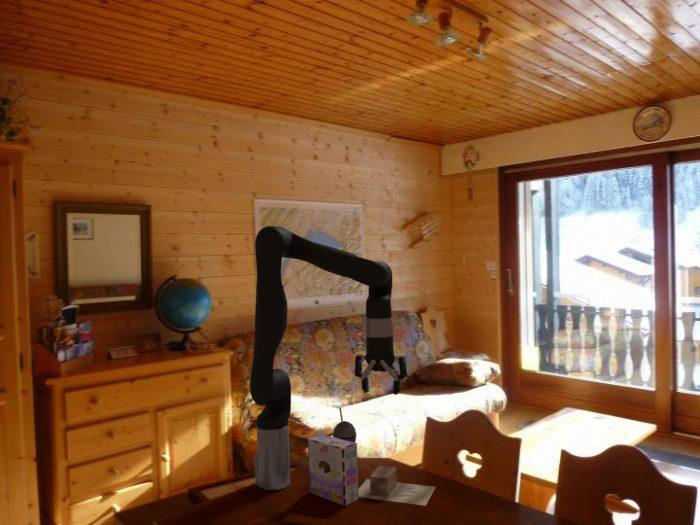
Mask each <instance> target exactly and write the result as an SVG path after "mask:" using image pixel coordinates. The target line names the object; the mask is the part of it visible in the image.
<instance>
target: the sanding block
mask: <svg viewBox="0 0 700 525" xmlns="http://www.w3.org/2000/svg"><path fill="white" fill-rule="evenodd" d="M369 479H370V494H371V495H375V496H383V497H389V496H390V494H391V493H392V491H393V490H394V489H395V487H396V486H397V481H398V480H397V467H396V466H385V465H378V467H376V469H375V470H374V471H373V472H372V473H371V474H370V476H369Z"/></svg>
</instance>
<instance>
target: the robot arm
mask: <svg viewBox="0 0 700 525" xmlns="http://www.w3.org/2000/svg"><path fill="white" fill-rule="evenodd" d="M254 251H255V252H254V253H255V266H256V267H255V268H256V285H255V286H256V288H255V290H256V291H255V309H254V310H255V311H254V339H253V340H254V341H253V342H254V343H253V355H252V364H251V370H250V377H249V392H250V396H251V399H252V401H253V402H254V403H255V404H256V405H258V406H264V408H263V409H262V410H261V412H260V413H259V414H258V416H257V417H256V443H257V444H256V445H257V448H256V450H257V451H255V453H254V469H255V470H254V477H255V482H254V483H255V487H259V488H260V489H262V490H266V491H277V490H281V489H285V488H287V487H288V486H290V485H291V466H290V465H291V464H290V463H291V462H290V437H289V436H290V435H289V430H290V429H289V418H290V416H291V412H292V411H291V410H292V409H291V408H292V384H291V379H290V377H289V375H288V373H287V372H286V371H285V370H283V369H281V368H274V367H275V366H274V364H275V359H276V358H275V357H276V355H277V354H276V353H277V350H278V349H279V347H280V345H281V343H282V340H283V338H284V336H285V333H286V329H287V323H288V300H287V296H286V292H285V288H284V284H283V280H282V264H283V262H282V261H283V258H286V259H293V260H299V261H303V262H306V263H309V264H311V265H313V266H315V267H317V268H318V269H321V270H322V271H325V272H328V273H331V274H334V275H336V276H340V277H343V278H347V279H351V280H353V281H355V282H357V283H360V284H362V285H365V286H367V287H368V296H367V298H366V301H365V326H364V327H365V348H366V349H365V350H366V352H365V354H364V355H363V354H362V353H359V354H356V355H355V358H354V376H355V377H356V378H357V377H358V378H360V379H361V390H362V391H363V393H365V394H367V393H368V392H369V391H370V388H369V387H370V386H369V385H370V384H369V375H370V374H371V373H372V372H382V373H385V372H387V374H388V375H390V376H391V378H392V379H393V382H392V383H393V395H394V396H398V394H399V393H400V391H401V381H402V380H404V379H405V378H406V377H408V373H407V362H406V359H407V358H406V356H405V355H401V356H400V355H398V356H396V355H395V353H394V349H395V348H394V325H393V319H392V314H393V313H392V300H391V299H392V290H393V271H392V269H391V268H392V267H391V266H390V265H389V264H388V263H386V262H384V261H381V260H380V261H379V260H378V261H375V260H373V259H372V260H371V259H368V258H364V257H360V256H358V255H357V254H355V253H352V252H350V251H346V250H343V249H340V248H338V247H337V248H336V247H333V246H330V245H326V244H321V243H318V242H315V241H311V240H309V239H307V238H304V237H303V236H300V235H298V234H296V233H294V232H292V231H291V230H289V229H286V228H285V227H283V226H273V225H271V226H270V225H267V226H264V227H262V228H261V229H260V230H259V231H258V232H257V234H256V236H255V241H254ZM364 361H365V362H366V363H367V367H366V368H365V370H364V371H363V363H364ZM395 362H396V365H399V366H398V367H399V372H398V371H397V368H396V367H395V365H393V364H394V363H395Z"/></svg>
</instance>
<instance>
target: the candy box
mask: <svg viewBox="0 0 700 525" xmlns="http://www.w3.org/2000/svg"><path fill="white" fill-rule="evenodd" d="M306 440H307V459H308V460H307V462H308V479H309V480H308V484H309V485H308V486H309V493H311V494H313V495H316V496H319V497H321V498H323V499H325V500H328V501H331V502H333V503H336V504H339V505H342V506H344V507H346V506H348V505H350V504H352V503H354V502H356V501H358V500H360V497H359V492H358V489H359V471H358V469H359V468H358V467H359V465H358V462H359V461H358V443H357V442H355V443H354V442H350V441H347V440H343V439H339V438H335V437H333V436H330V435H328V434H324V433H320V434H317V435H314V436H312V437H309V438H307V439H306Z"/></svg>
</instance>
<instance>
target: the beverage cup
mask: <svg viewBox="0 0 700 525" xmlns="http://www.w3.org/2000/svg"><path fill="white" fill-rule="evenodd" d="M338 408H339V409H338V410H339V416H340V422H339V423H337V424H336V425H335V427H334V428H333V434H332V437H335V438H339V439H343V440H347V441H350V442H354V443H357V442H356V440H357V435H358V434H357V431H356V428H355V426H354V425H353V424H352V423H351V422H349V421H346V420H345V421H344V419H343V413H342V407H338Z"/></svg>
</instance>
